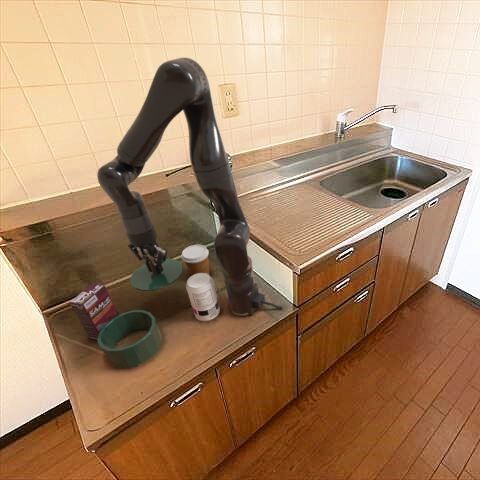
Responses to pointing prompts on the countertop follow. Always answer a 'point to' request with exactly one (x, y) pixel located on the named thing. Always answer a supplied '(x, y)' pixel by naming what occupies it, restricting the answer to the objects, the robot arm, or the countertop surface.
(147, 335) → the pot
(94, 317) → the supplement box
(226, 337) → the countertop surface
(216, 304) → the supplement can
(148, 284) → the lid
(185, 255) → the disposable coffee cup
